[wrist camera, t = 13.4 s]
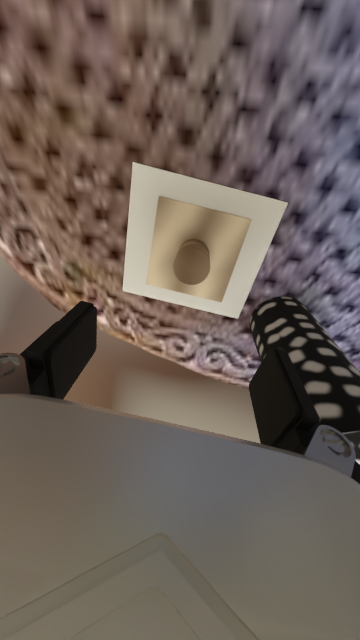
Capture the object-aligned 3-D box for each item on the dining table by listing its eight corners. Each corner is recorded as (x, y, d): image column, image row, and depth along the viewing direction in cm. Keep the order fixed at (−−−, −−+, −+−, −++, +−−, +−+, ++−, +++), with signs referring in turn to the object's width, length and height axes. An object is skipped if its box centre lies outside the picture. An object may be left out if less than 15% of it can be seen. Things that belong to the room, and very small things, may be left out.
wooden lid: (250, 218, 26) (261, 226, 21) (221, 299, 31) (224, 320, 26) (160, 196, 25) (148, 198, 20) (147, 281, 31) (136, 299, 26)
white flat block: (286, 202, 25) (288, 202, 24) (237, 317, 33) (237, 318, 33) (133, 162, 24) (132, 162, 24) (123, 289, 33) (122, 290, 32)
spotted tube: (316, 299, 30) (455, 439, 14) (296, 345, 35) (382, 494, 18) (256, 294, 31) (319, 422, 14) (244, 340, 35) (280, 480, 18)
